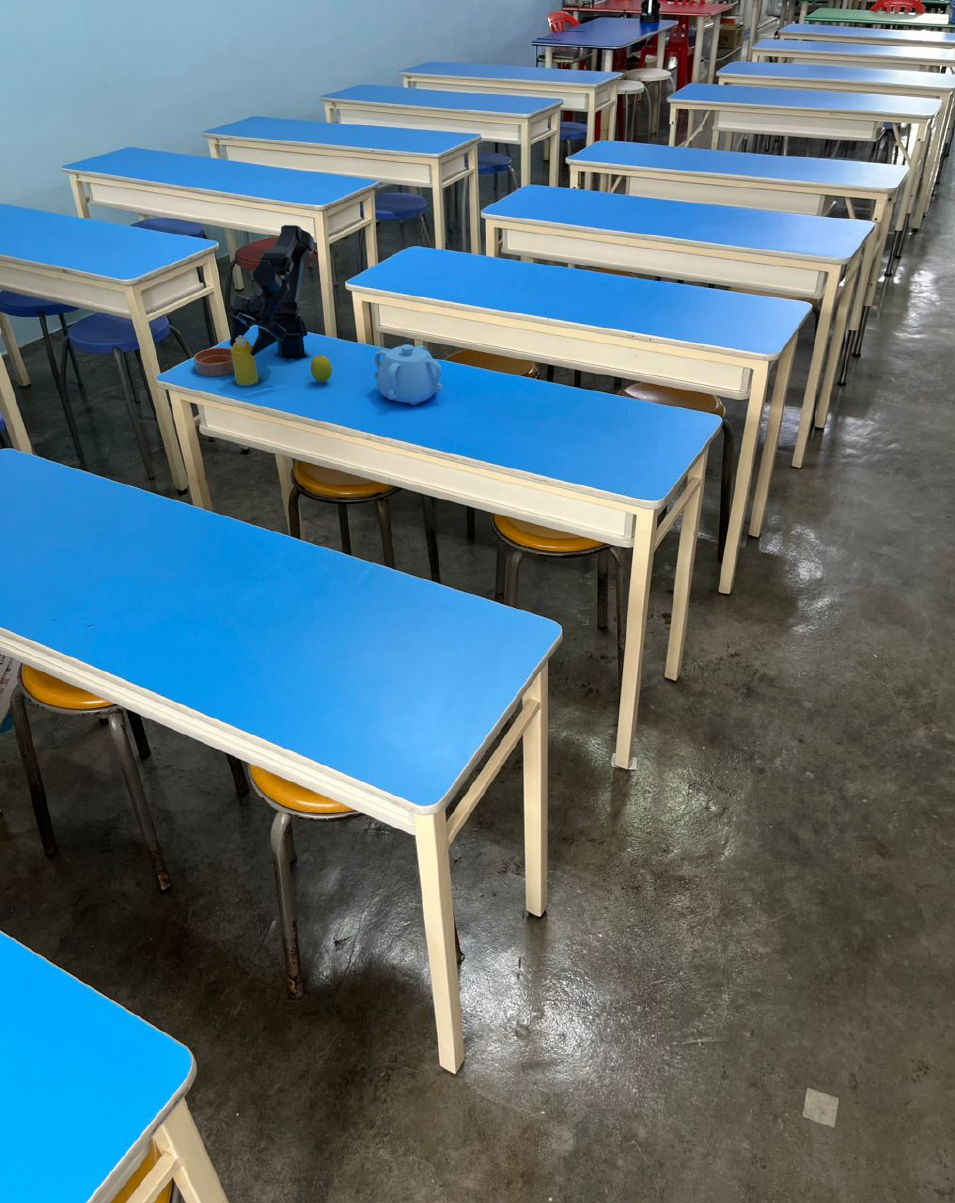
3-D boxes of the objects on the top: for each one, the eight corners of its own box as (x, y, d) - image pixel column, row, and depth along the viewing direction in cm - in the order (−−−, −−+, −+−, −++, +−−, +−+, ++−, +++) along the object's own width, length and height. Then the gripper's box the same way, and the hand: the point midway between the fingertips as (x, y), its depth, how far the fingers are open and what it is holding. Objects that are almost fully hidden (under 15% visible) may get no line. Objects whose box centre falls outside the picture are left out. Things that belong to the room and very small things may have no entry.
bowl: (229, 358, 268) (227, 344, 265) (247, 372, 260) (245, 358, 257) (189, 367, 262) (187, 353, 260) (206, 382, 254) (203, 368, 252)
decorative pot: (433, 381, 256) (432, 332, 248) (445, 405, 243) (444, 355, 235) (374, 386, 253) (371, 337, 245) (383, 411, 240) (380, 360, 232)
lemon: (329, 388, 251) (326, 359, 247) (309, 386, 252) (306, 358, 248) (335, 380, 256) (333, 351, 251) (316, 378, 257) (313, 350, 252)
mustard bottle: (253, 376, 258) (246, 329, 250) (262, 383, 254) (255, 336, 246) (232, 381, 255) (225, 334, 247) (241, 388, 251) (234, 341, 243)
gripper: (227, 274, 247) (199, 326, 247) (271, 290, 237) (241, 344, 237) (256, 296, 256) (228, 346, 256) (299, 313, 246) (270, 365, 246)
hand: (241, 350), depth 249 cm, fingers open, 9 cm apart
